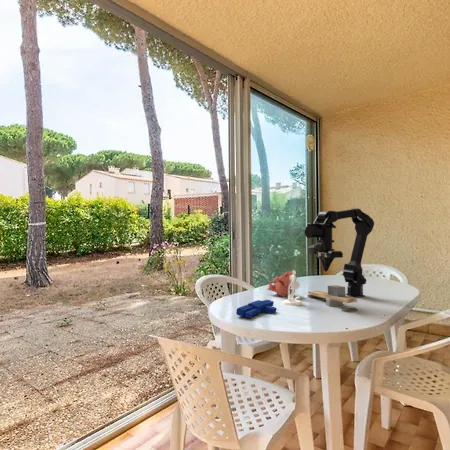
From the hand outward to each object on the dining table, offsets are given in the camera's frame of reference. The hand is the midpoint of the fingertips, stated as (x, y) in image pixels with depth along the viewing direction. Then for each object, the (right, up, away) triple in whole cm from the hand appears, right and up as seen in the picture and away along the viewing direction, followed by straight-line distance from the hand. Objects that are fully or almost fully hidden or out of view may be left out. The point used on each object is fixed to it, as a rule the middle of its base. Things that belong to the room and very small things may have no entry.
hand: (325, 271), depth 158 cm
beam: (0, -11, -6) cm, 13 cm away
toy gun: (-32, -15, -20) cm, 41 cm away
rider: (+2, -9, -10) cm, 14 cm away
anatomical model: (-19, -14, +11) cm, 26 cm away
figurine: (-16, -14, -5) cm, 22 cm away
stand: (+1, -13, -6) cm, 15 cm away
